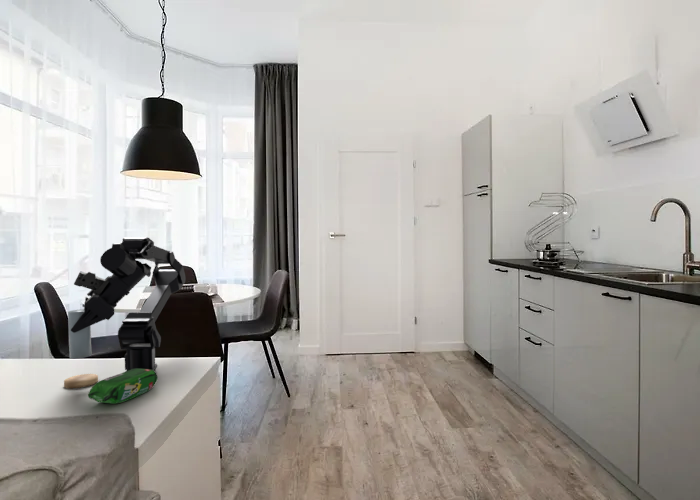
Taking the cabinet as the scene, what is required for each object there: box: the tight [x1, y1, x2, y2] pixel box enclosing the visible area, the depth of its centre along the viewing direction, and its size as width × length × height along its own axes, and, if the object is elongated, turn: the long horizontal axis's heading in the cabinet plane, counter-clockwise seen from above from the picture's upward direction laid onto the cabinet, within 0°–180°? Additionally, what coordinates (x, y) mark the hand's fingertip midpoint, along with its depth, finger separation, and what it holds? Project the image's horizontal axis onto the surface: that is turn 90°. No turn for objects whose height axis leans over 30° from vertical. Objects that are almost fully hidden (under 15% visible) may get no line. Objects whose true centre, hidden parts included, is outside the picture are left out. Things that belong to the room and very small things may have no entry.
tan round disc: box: [63, 373, 99, 390], centre depth 104 cm, size 7×7×1 cm
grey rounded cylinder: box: [67, 308, 92, 359], centre depth 103 cm, size 4×4×11 cm
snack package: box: [87, 368, 158, 405], centre depth 95 cm, size 7×16×5 cm, turn 161°
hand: (72, 329), depth 103 cm, fingers closed on grey rounded cylinder, 4 cm apart
